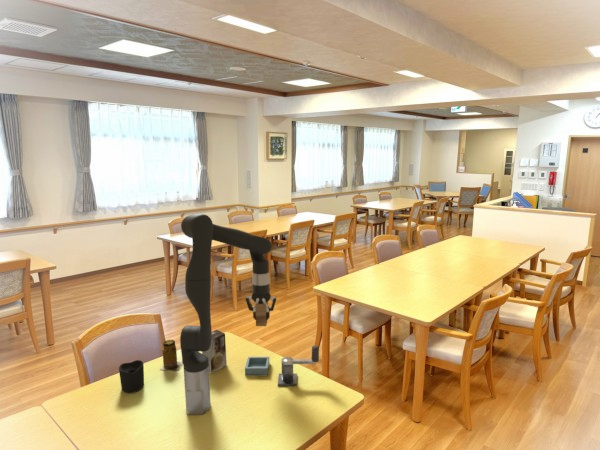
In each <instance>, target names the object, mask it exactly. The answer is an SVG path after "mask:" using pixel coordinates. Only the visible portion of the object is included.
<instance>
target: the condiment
mask: <svg viewBox="0 0 600 450" xmlns="http://www.w3.org/2000/svg"><path fill="white" fill-rule="evenodd" d="M161 351H162V362H163V365H162V367H161V368H160V371H178V370H180V369H181V367H182V366H183V362H182V361H178V357H177V356H178V355H177V354H178V353H177V345H176V341H175V340H174V339H166V340H164V341H163V343H162V350H161Z"/></svg>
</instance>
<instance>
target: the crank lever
mask: <svg viewBox="0 0 600 450" xmlns="http://www.w3.org/2000/svg"><path fill="white" fill-rule="evenodd" d="M319 351H320V346H319V345H312V346H311V358H293V357H291V356H284V357H282V358H281V366H282V365H284V366H291V365H293V366H294V365H316V363H317V362H319V360H320V352H319Z"/></svg>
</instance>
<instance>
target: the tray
mask: <svg viewBox="0 0 600 450" xmlns="http://www.w3.org/2000/svg"><path fill="white" fill-rule="evenodd" d="M269 367H270V356H247V358H246V363H245V365H244V376H245V377H246V376H253V377H254V376H255V377H256V376H266V377H267V376H269V375H268V374H269V370H270V368H269Z"/></svg>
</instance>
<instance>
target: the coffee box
mask: <svg viewBox="0 0 600 450" xmlns="http://www.w3.org/2000/svg"><path fill="white" fill-rule="evenodd" d="M211 331H212V330H211ZM226 347H227V346H226V333H225V332H223V331H221V330H218V329H215V330H213V331H212V340H211V346H210V348H209V350H208V351H204V352H202V351H201V353H202V354H204V355H206V356H207V357H208V361H209V374H213V373H215V372H217V371H218V370H220V369H222V368H224V367H226V366H227V348H226Z"/></svg>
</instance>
